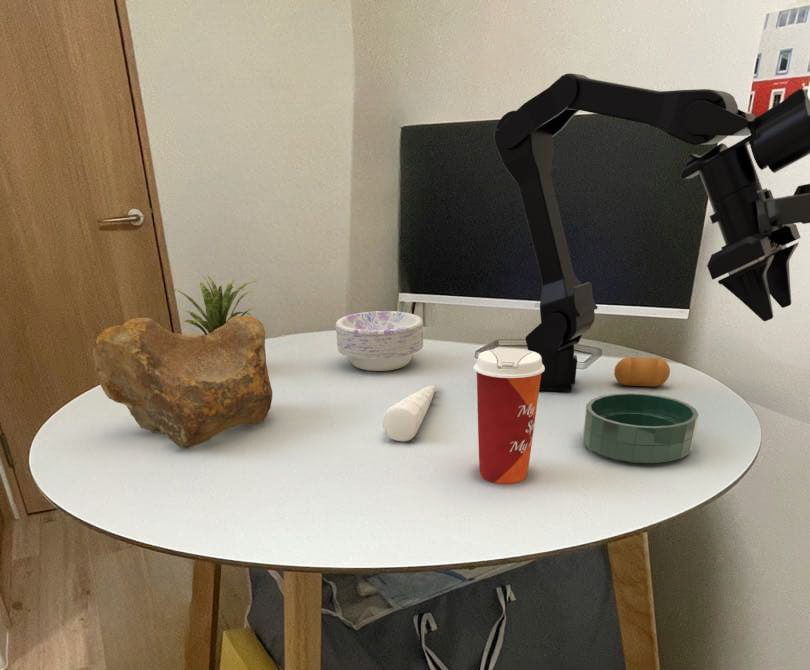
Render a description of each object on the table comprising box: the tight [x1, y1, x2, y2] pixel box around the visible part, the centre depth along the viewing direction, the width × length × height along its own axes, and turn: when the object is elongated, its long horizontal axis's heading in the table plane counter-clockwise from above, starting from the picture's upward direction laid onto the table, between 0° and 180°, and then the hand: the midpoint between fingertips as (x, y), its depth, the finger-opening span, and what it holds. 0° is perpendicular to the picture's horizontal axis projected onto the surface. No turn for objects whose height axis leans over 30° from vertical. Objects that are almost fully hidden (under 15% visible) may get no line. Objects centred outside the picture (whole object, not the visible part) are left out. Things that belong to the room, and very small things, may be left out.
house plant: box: [173, 275, 258, 335], centre depth 119 cm, size 14×14×16 cm
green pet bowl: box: [582, 392, 699, 464], centre depth 88 cm, size 13×13×5 cm
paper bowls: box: [335, 310, 424, 372], centre depth 124 cm, size 15×15×8 cm
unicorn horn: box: [382, 384, 437, 443], centre depth 101 cm, size 5×24×5 cm, turn 163°
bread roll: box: [613, 356, 671, 388], centre depth 111 cm, size 8×4×4 cm, turn 79°
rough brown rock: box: [92, 315, 273, 449], centre depth 94 cm, size 23×17×15 cm
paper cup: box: [473, 347, 545, 485], centre depth 80 cm, size 8×8×14 cm
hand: (778, 312), depth 90 cm, fingers open, 9 cm apart
